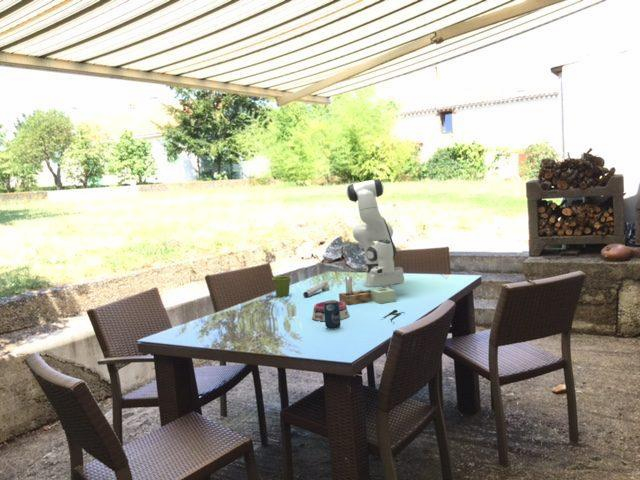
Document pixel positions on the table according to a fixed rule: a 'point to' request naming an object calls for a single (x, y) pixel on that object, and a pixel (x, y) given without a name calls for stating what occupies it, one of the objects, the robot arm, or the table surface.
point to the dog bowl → (320, 315)
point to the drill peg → (348, 286)
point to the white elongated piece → (316, 289)
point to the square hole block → (383, 295)
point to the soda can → (332, 314)
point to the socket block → (355, 297)
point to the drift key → (368, 291)
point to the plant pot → (282, 285)
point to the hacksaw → (394, 314)
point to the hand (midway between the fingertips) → (388, 292)
